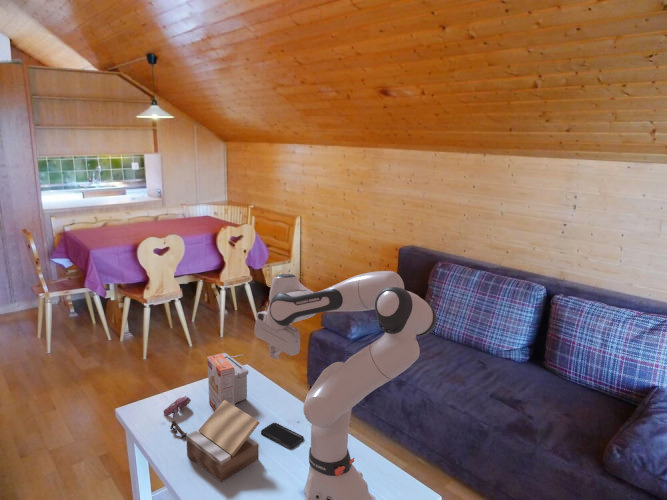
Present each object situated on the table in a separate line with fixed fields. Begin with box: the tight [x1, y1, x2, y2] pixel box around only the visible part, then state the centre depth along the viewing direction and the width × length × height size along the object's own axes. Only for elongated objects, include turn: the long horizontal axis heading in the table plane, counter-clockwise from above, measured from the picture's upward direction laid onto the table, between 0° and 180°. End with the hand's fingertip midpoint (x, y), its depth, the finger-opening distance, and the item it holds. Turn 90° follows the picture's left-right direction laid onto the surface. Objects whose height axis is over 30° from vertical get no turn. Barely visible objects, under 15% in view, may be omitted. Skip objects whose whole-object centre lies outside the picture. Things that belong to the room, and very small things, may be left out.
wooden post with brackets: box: [169, 419, 188, 439], centre depth 174 cm, size 2×8×4 cm, turn 54°
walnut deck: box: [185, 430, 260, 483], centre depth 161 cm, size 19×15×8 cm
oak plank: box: [197, 400, 260, 456], centre depth 162 cm, size 18×13×2 cm
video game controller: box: [163, 395, 192, 416], centre depth 187 cm, size 10×5×7 cm, turn 148°
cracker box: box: [206, 352, 236, 411], centre depth 186 cm, size 14×6×21 cm, turn 33°
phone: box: [260, 422, 305, 450], centre depth 174 cm, size 8×1×15 cm
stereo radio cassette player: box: [221, 352, 249, 404], centre depth 200 cm, size 21×8×20 cm, turn 40°
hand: (274, 357), depth 168 cm, fingers closed
